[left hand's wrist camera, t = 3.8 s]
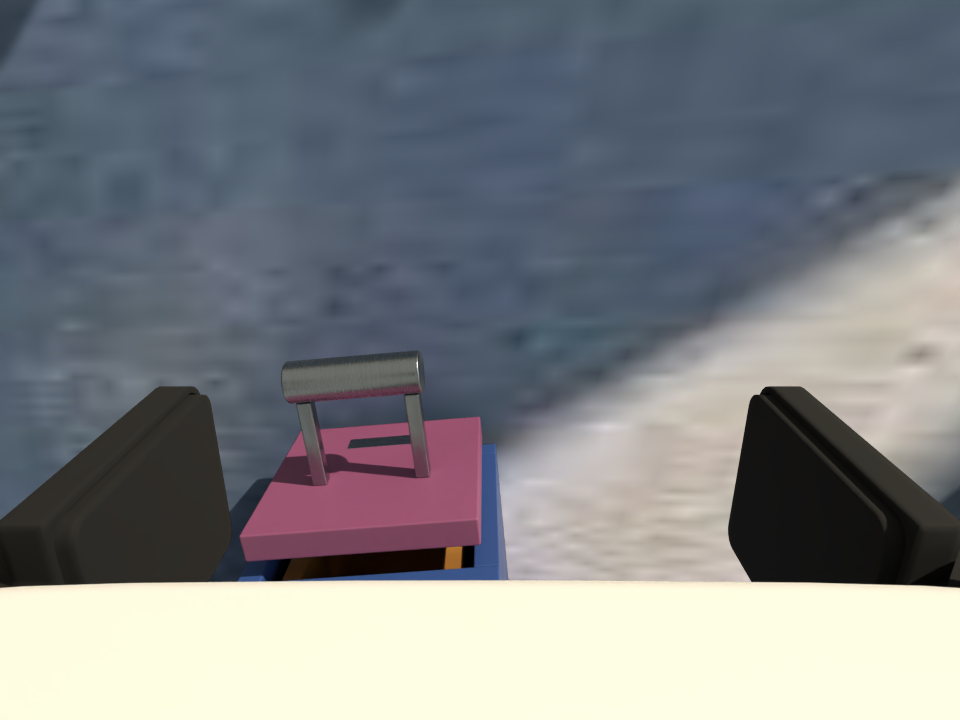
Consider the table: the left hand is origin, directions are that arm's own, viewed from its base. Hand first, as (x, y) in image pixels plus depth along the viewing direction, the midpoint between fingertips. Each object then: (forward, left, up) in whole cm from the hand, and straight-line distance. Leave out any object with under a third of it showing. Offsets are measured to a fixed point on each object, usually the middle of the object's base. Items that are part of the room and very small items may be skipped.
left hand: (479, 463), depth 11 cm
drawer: (-12, +10, -18) cm, 24 cm away
